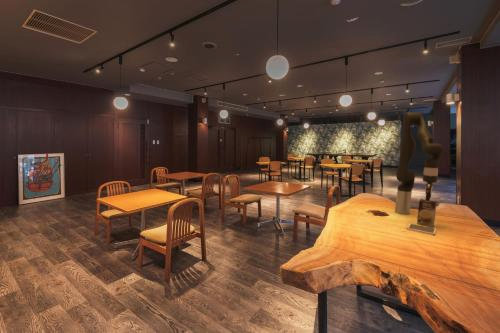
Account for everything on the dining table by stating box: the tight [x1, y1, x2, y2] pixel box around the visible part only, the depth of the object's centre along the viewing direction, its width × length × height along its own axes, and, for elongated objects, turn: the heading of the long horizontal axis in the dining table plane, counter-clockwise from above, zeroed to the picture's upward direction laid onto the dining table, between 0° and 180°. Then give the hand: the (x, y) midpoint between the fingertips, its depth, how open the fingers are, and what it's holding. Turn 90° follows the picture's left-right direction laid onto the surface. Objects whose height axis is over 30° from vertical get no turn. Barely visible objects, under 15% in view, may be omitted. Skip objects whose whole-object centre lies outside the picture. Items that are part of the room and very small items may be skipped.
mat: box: [406, 222, 437, 236], centre depth 154 cm, size 14×12×1 cm
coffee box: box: [416, 198, 438, 228], centre depth 162 cm, size 9×6×16 cm
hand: (428, 198), depth 161 cm, fingers open, 8 cm apart
